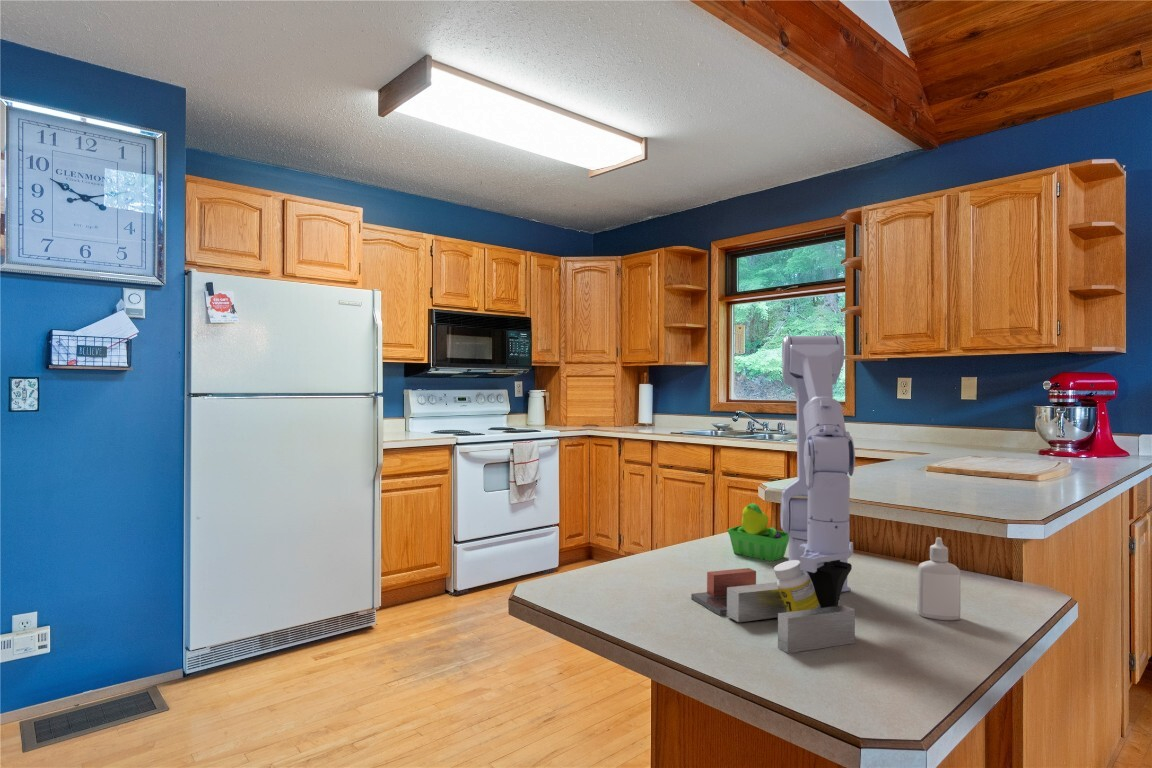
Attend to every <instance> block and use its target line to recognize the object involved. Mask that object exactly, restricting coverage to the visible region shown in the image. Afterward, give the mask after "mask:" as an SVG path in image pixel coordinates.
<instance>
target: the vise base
mask: <svg viewBox="0 0 1152 768" xmlns="http://www.w3.org/2000/svg"><path fill="white" fill-rule="evenodd" d="M690 596H691V597H690V598H691V600H693V601H694V602H696V603H698V604H699V605H701V606H703V607H704V608H706V609H708V610H710V611H711V612H714V613H715V614H716V615H719V616H720V617H721V616H727V596H720V597H712V596H711V595H709V594H707V591H705V592H695V593H691V595H690Z"/></svg>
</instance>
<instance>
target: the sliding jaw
mask: <svg viewBox="0 0 1152 768" xmlns="http://www.w3.org/2000/svg"><path fill="white" fill-rule="evenodd" d="M706 574H707V575H706V592H707V594H709V595H711V596H712V597H720V596H727V615H726V617H729V618H730V619H732V620H734V621H735V622H737V623H744V622H752V621H759V620H767V619H775V618H777V619H778V613H785V612H787V610H786V608H785V605H784V602H783V600H782V597H781V594H780V592H779V589H778V587H777V581H776V582H765V583H758V584H757V571H756V570H755V569H752V568H749V567H744V568H735V569H723V570H713V571H707V572H706Z"/></svg>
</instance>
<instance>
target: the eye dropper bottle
mask: <svg viewBox="0 0 1152 768" xmlns="http://www.w3.org/2000/svg"><path fill="white" fill-rule="evenodd" d="M943 543H944V542H943V539H942V537H939V536H938V537H936V538H935V543H934V544H931V545H930V546H929V559H930V560H925V561H923V562H920V563H919V564H918V566H917V612H918V613H919V615H920V616H922V618H926V619H930V620H931V619H932V620H940V621H959V620H960V619H961V570H960V568H959V567H957V566H956V564H953V563H951V562H948V561H949V547H947V546H945V545H944V544H943Z"/></svg>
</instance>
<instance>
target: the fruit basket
mask: <svg viewBox="0 0 1152 768" xmlns="http://www.w3.org/2000/svg"><path fill="white" fill-rule="evenodd" d="M768 524H769V517H768V515H767V514H766V513H765V512H764V511H763V510H762V509H761V507H760V506H759V505H758V504H757V503H752V502H751V503H749V504H747V505H746V506H745V507H744V508H743V509H742V517H741V525H738V526H737V525H736V526H734V527H730V528H727V532H728V535H729V539H730V543H731V546H732V551H733V553H734V554H735V553H736V554H737V555H740V554H741V555H742V556H744V557H750V558H753V559H754V558H755V559H758V558H759V559H760V560H765V561H769V562H774V561H778V560H780V559H781V558H784V557H785V555H786V551H787V547H788V545H789V535H788V533H784V531H783V530H782V531H781V530H777V529H775V528H774V527H773V526H770V527H768ZM736 554H735V555H736Z"/></svg>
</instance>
